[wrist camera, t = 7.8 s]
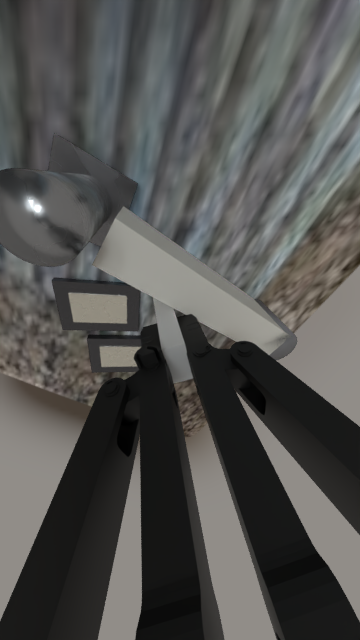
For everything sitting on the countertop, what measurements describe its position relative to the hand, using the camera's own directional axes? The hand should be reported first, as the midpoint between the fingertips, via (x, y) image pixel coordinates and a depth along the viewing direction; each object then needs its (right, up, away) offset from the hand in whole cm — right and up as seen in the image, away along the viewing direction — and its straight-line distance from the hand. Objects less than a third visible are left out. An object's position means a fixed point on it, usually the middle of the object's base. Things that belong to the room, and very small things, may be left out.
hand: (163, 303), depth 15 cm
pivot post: (-5, +7, -1) cm, 9 cm away
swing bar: (+3, +2, +1) cm, 4 cm away
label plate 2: (-5, -5, +7) cm, 10 cm away
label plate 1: (-6, 0, +3) cm, 7 cm away
